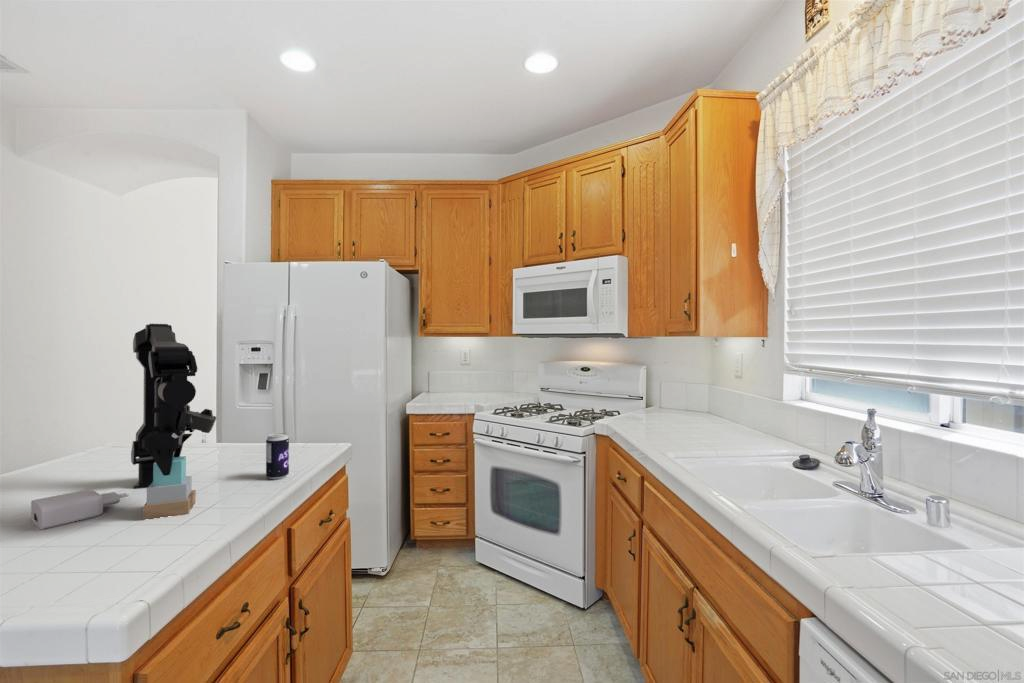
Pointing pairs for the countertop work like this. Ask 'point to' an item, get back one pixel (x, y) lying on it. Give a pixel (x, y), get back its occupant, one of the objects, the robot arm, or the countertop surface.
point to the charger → (71, 507)
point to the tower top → (169, 492)
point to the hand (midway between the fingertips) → (170, 471)
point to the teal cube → (175, 475)
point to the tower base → (169, 508)
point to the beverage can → (277, 456)
